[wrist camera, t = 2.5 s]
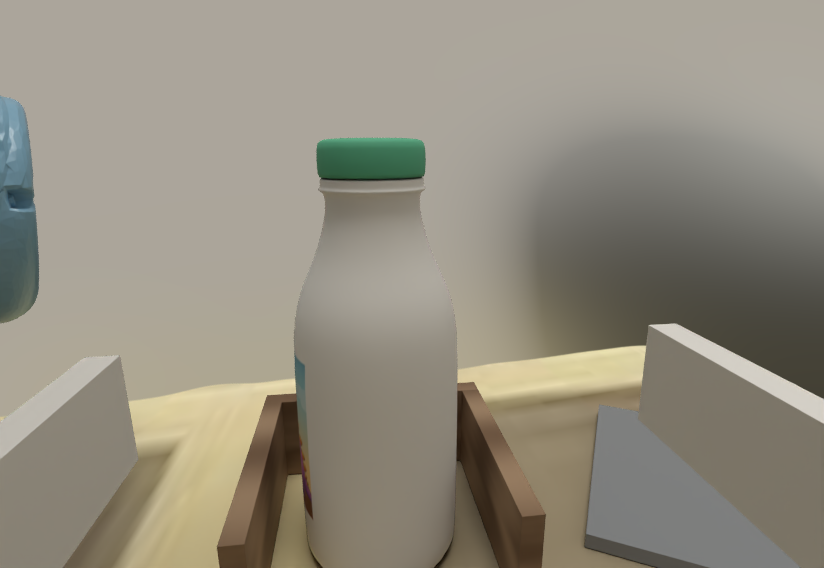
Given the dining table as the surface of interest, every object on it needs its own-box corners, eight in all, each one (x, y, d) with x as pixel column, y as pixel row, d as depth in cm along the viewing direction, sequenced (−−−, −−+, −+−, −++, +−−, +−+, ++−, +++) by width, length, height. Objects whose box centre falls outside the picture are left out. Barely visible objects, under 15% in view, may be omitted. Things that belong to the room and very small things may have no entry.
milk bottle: (479, 515, 27) (492, 137, 22) (400, 626, 21) (393, 134, 15) (368, 468, 31) (357, 140, 26) (275, 549, 25) (235, 138, 20)
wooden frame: (538, 610, 21) (545, 514, 20) (230, 647, 20) (217, 546, 19) (471, 449, 33) (473, 382, 32) (273, 465, 31) (267, 395, 30)
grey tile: (584, 546, 25) (586, 533, 25) (598, 414, 37) (599, 404, 37) (953, 651, 20) (959, 636, 19) (825, 456, 32) (828, 445, 32)
